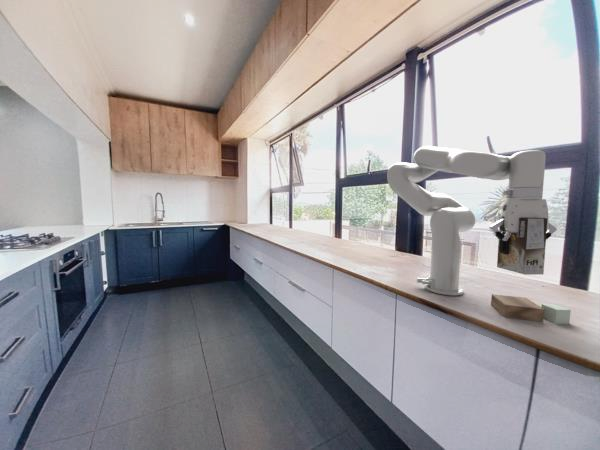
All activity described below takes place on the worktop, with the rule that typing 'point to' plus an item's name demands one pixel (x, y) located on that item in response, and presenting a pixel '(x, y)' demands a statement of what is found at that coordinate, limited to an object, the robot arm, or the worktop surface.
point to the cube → (556, 313)
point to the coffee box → (526, 248)
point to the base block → (517, 307)
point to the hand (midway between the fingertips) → (519, 253)
